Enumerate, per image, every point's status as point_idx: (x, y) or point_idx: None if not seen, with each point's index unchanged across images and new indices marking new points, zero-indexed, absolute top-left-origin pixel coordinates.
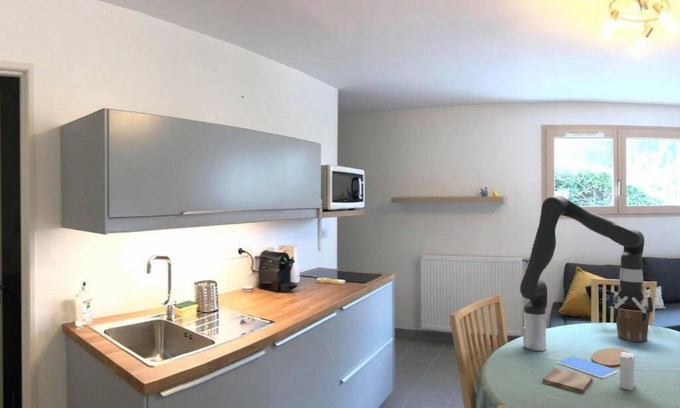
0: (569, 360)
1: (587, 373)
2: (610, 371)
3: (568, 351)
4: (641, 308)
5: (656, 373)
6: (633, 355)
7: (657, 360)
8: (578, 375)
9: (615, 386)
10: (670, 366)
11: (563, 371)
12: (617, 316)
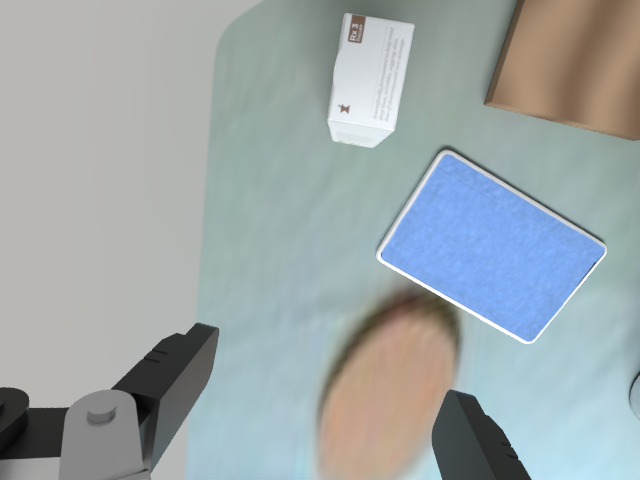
0: (553, 286)
1: (494, 178)
2: (406, 229)
3: (537, 400)
4: (115, 467)
5: (249, 300)
6: (335, 89)
7: (236, 429)
8: (549, 91)
9: None
10: None
11: (609, 110)
12: (464, 396)
